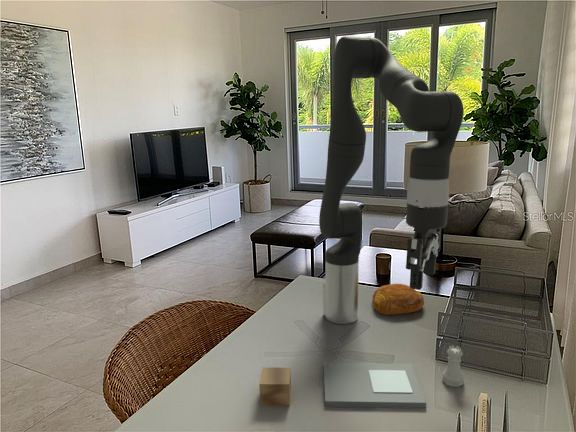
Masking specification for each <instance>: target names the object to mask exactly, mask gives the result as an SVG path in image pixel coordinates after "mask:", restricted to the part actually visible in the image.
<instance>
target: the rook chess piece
mask: <svg viewBox="0 0 576 432" xmlns="http://www.w3.org/2000/svg"><path fill="white" fill-rule="evenodd" d="M446 354H447V355H448V356H447V361H448V363H447V366H446V368H445V370H444V371H443V372H442V381H443V383H444V384H445V385H446V386H448V387H451V388H459V387H462V386H463V385H464V379H465V377H464V374H463V372H462V370H461V362H462V358H461V357H462V356H463V355H464V353H463V351H462V348H461V347H459V346H455V345H450V346H449V347H448V349H447V350H446Z"/></svg>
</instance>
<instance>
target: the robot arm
mask: <svg viewBox="0 0 576 432" xmlns="http://www.w3.org/2000/svg"><path fill="white" fill-rule="evenodd" d="M333 53H334V55H333V68H332V69H333V70H332V71H333V74H332V75H333V76H332V79H333V80H332V84H333V85H332V108H331V119H330V125H329V126H330V128H329V135H328V145H327V146H328V147H327V164H326V170H325V182H324V189H323V193H322V198H321V203H320V209H319V219H318V221H319V222H318V223H319V230H320V233H321V236H322V237H324V238H325V239H330V240H332V239H339V241H337V242H336V243H335V244H333V245H332V246H330V247H329V248H327V249H326V250H325V253H324V254H325V256H324V257H325V258H324V259H325V267H324V268H325V270H324V271H325V283H323V285H322V289H323V291H322V295H323V297H322V304H323V305H322V307H323V308H322V314H323V316H324V317H325V319H326V320H327V321H328V322H330V323H333V324H337V325H348V324H353V323H355V322H357V320H358V318H359V316H358V315H359V314H358V313H359V268H360V267H359V264H360V263H359V261H360V260H359V259H360V254H361V249H362V233H363V214H362V210H361V208H360V206H359V205H358V204H356V203H355V202H344V203H343V202H342V203H341V199H342V196H343V193H344V191H345V189H346V187H347V186H348V184H349V182H350V181H351V180H352V178H353V177H354V176H355V175H356V173H357V171H359V168H360V167H361V166H362V163H363V161H364V156H365V149H366V143H367V132H366V128H365V125H364V123H363V121H362V119H361V117H360V115H359V113H358V110H357V108H356V107H355V104H354V100H353V94H352V93H353V92H352V85H353V84H352V83H353V82H352V80H353V79H375V80H378V88H379V92H380V93H381V95H382V96H383V98H384V99H385V100H386V101H388V102H389V103H390V104H391V105H392V106H394V108H396V110H397V112H398V115H399V116H400V118H401V121H402V123H403V125H404V127H406V128H407V129H409V130H410V131H414V132H418V133H426V132H431V135H430V137H429V139H428V141H426V142H424V143H422V144H419V145H416V146H414V147H413V148H412V149H411V152H410V157H409V158H410V160H409V163H410V164H409V180H408V184H407V192H406V193H407V194H406V212H405V213H406V214H405V223H406V225H408V226H409V227H412V228H414V234H413V235H412V236H411V237H408V238H407V245H406V246H407V248H406V261H405V269H406V270H409V271H410V276H409V277H410V278H409V286H410V287H411V288H412V289H415V290H416V291H420V290H422V288H423V283H424V281H423V280H424V275H426V276H428V275H429V276H434V275H435V274H436V263H437V257H438V255H439V253H438V252H440V251H441V239H442V229H444V228H445V227H446V226H447V225H448V213H449V199H450V181H449V179H450V167H451V165H450V162H451V155H452V152H453V150H454V149H453V148H454V147H455V144H456V140H457V137H458V134H459V131H460V129H461V126H462V123H463V120H464V113H465V112H464V104H463V101H462V99H461V97H460V96H459V95H458V94H457V93H456V92H454V91H430V88H429V86H428V85H427V82H426V81H424V80H423V79H422V78H421V77H419V76H418V75H416V73H415V74H414V72H412V71H410V70H409V69H407V68H406V67H405V66H403V65H402V63H400V61H398V59H397V58H396V57H395V55H393V53H391V51H390V49H389V48H388V47H387V46H386V45H385V44H384V43H383V42H382V41H381V40H380V39H378V38H376V37H371V36H357V35H356V36H353V35H352V36H351V35H348V36H346V35H345V36H341V37H340V38H339V39H338V40H337V43H336V45H335V49H334V52H333ZM415 261H416V263H415Z"/></svg>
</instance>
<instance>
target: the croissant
mask: <svg viewBox="0 0 576 432" xmlns="http://www.w3.org/2000/svg"><path fill="white" fill-rule="evenodd" d="M371 302H372V304H373V308H374V310H376V311H377V312H378V313H380V314H382V315H386V316H390V315H394V316H395V315H404V314H409V313H414V312H415V313H416V312H417V311H420V310H421V309H422V308H423V307H424V305H425V301H424V296H423V294H422V293H421V292H419V290H417V289H412V288H411V287H410V285H407V284H404V283H392V284H385V285H381V286H380V287H378V288H377V289H375V291H374V293H373V295H372V301H371Z"/></svg>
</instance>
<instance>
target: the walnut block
mask: <svg viewBox="0 0 576 432" xmlns="http://www.w3.org/2000/svg"><path fill="white" fill-rule="evenodd" d="M261 368H262V369H261V374H260V379H259V405H260V406H276V407H277V406H278V407H279V406H280V407H281V406H282V407H284V406H285V407H289V406H290V404H291V391H292V386H291V385H292V384H291V383H292V381H291V380H292V378H291V377H292V376H291V375H292V374H291V371H292V370H291V367H266V366H265V367H261Z"/></svg>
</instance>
